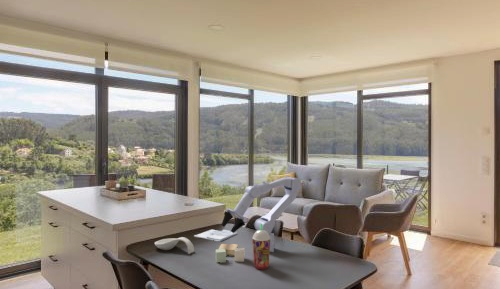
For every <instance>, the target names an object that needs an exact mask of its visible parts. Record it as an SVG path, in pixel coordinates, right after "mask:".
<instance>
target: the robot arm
mask: <svg viewBox="0 0 500 289" xmlns="http://www.w3.org/2000/svg"><path fill="white" fill-rule="evenodd" d="M280 187H283V189H284V192H285V194H284V195H283V197H282V198H281V199H280V200H279V201H278V202H277V203H276V204H275V205H274V206H273V207H272V209H270V211H269V212H268V213H267V214H264V215H262V216H261V217H260V218H257V219H256V220H255V222H254V223H253V226H254V228H255V230H256V231H258V230H261V224H262V230H265V231H267V232H268V234H269V236H270V238H271V239H270V253H274V252H275V246H276V245H275V233H274V232H273V230H274V227H275V226H276V220H277V219H278V218H279V217H280V216H281V215H282V214H283V213H284V212H285V211H286V209H287V208H288V207H289V206H290V205H291V204H292V203H293V202H294V201H295V200H296V198H297V196H298V193H299V191H300V190H301V189H302V181H301V179H300V178H299V177H291V176H284V177H281V178H278V179H276V180H274V181H272V182H268V181H264V180H263V181H261V183H258V184H257V183H256V184H255V183H254V185H249V186H247V187H245V189H244V193H243V196H242V197H241V198H240V200H239V201H238V203H237V204H236V206H235V207H234V208H233V209H232V208H230V207H227V208H226V210H224V214H223V220H222V222H221V226H222V227H223V228H225V227H226V226H227V224H228V223H229V222H230V221H231V220H232V219H233V218H234V217H235V218H236V220H235V223H234V225H232V228H231V230H230V231H231V232H233V233H234V232H237V231H238V230H239V229H241V228H242V227H244V226H245V225H246V224H247V222H248V221H249V219H248V218H246V217H245V214H246V212H247V211H248V209H249V207H250V206H251V205H252V203H253V202H254V200H255V199H258V198H259V197H260V196H261V195H264V194H268V193H270V192H271V190H273V189H276V188H280Z"/></svg>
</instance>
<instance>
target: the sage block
mask: <svg viewBox="0 0 500 289" xmlns="http://www.w3.org/2000/svg"><path fill="white" fill-rule="evenodd" d="M215 262H220V263H226V262H227V255H226V251H225V249H219V248H218V249H215Z"/></svg>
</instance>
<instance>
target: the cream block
mask: <svg viewBox="0 0 500 289" xmlns="http://www.w3.org/2000/svg"><path fill="white" fill-rule="evenodd" d="M245 249H246V248H245V247H238V248H235V251H234V255H235V256H234V262H245V258H246V257H245V256H246V254H245V252H246V250H245Z"/></svg>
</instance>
